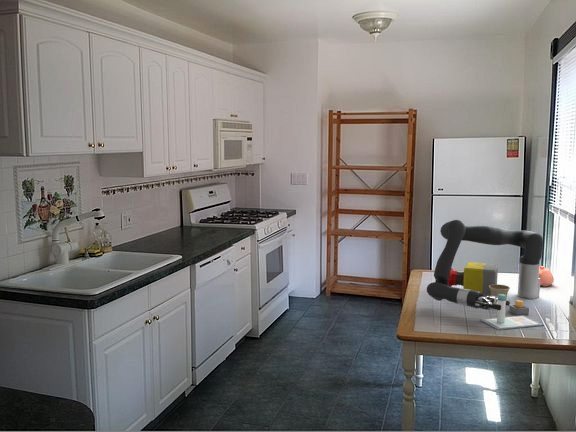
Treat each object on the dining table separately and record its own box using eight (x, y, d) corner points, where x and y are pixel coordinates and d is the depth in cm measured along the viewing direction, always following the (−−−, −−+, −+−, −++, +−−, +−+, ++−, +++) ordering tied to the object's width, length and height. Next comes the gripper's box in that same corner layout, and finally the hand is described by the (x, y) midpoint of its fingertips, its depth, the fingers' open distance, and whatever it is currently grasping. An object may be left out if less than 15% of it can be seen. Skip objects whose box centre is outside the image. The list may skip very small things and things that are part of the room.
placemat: (523, 316, 247) (524, 314, 247) (543, 325, 234) (543, 324, 234) (480, 320, 242) (480, 318, 242) (498, 330, 229) (498, 328, 229)
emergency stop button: (448, 287, 295) (449, 260, 293) (496, 292, 285) (498, 264, 283) (444, 294, 282) (444, 266, 280) (494, 300, 272) (495, 270, 270)
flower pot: (499, 308, 259) (500, 290, 257) (484, 303, 267) (484, 285, 266) (513, 305, 263) (514, 287, 262) (497, 300, 271) (498, 283, 270)
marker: (501, 320, 239) (503, 293, 237) (506, 322, 236) (507, 296, 234) (494, 321, 238) (496, 294, 237) (499, 323, 235) (500, 296, 233)
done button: (519, 308, 254) (520, 299, 253) (524, 310, 250) (525, 301, 250) (513, 308, 253) (513, 300, 252) (518, 311, 249) (518, 302, 249)
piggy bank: (554, 283, 301) (556, 265, 300) (551, 289, 290) (552, 270, 288) (530, 280, 308) (531, 262, 307) (526, 286, 296) (527, 267, 295)
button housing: (520, 310, 255) (520, 304, 255) (528, 314, 249) (529, 307, 249) (509, 311, 254) (509, 305, 254) (517, 315, 248) (517, 308, 248)
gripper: (462, 293, 241) (498, 300, 229) (477, 287, 251) (512, 293, 239) (461, 309, 242) (497, 317, 230) (476, 302, 252) (511, 310, 240)
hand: (505, 305), depth 235 cm, fingers open, 8 cm apart
